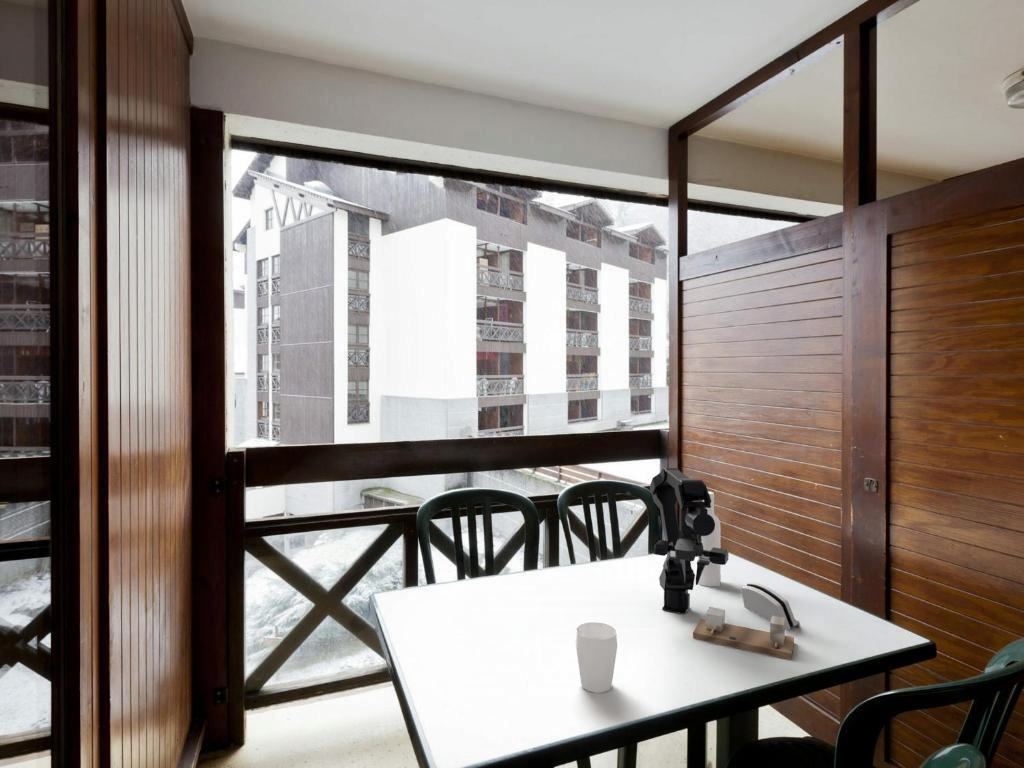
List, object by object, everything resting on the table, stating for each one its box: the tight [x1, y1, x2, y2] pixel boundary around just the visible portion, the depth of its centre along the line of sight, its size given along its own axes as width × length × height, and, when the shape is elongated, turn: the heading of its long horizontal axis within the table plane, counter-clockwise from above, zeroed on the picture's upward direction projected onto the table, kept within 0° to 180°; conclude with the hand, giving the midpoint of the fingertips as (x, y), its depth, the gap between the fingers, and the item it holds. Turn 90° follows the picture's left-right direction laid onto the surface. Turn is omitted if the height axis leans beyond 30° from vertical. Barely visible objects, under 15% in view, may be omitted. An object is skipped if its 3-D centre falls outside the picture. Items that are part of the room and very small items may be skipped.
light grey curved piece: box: [740, 582, 802, 631], centre depth 161 cm, size 17×5×10 cm, turn 18°
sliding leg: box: [705, 606, 726, 634], centre depth 149 cm, size 4×8×4 cm, turn 150°
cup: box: [575, 621, 618, 694], centre depth 125 cm, size 9×9×12 cm
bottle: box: [694, 491, 722, 588], centre depth 188 cm, size 8×8×30 cm
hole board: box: [692, 616, 795, 660], centre depth 146 cm, size 23×10×6 cm, turn 60°
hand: (690, 583), depth 154 cm, fingers open, 3 cm apart
